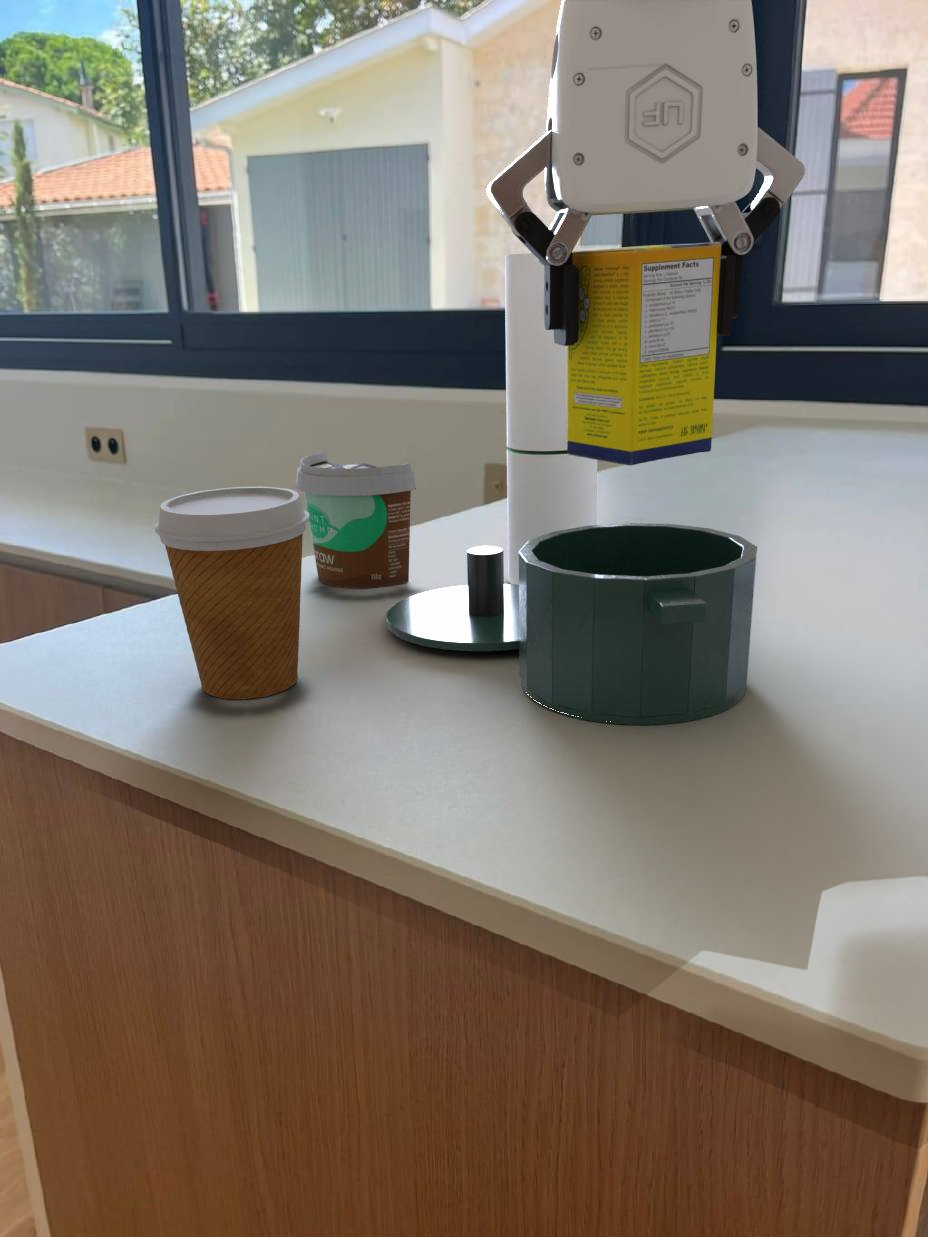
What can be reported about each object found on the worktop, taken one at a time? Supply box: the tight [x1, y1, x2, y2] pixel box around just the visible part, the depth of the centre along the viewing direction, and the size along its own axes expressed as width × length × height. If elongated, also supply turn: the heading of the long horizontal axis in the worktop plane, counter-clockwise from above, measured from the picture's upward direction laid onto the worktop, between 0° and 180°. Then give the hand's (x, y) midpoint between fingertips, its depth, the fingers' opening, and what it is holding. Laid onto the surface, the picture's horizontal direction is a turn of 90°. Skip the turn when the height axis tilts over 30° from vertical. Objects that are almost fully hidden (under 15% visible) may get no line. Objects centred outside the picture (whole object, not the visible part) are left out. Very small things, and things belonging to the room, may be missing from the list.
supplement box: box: [567, 241, 721, 466], centre depth 61 cm, size 6×6×11 cm
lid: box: [385, 545, 519, 652], centre depth 80 cm, size 15×15×6 cm
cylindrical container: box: [504, 248, 602, 585], centre depth 87 cm, size 7×7×25 cm
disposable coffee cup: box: [154, 486, 309, 700], centre depth 70 cm, size 10×10×12 cm
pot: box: [518, 522, 758, 726], centre depth 67 cm, size 14×19×8 cm
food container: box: [295, 451, 417, 589], centre depth 93 cm, size 12×6×10 cm, turn 40°
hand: (640, 337), depth 61 cm, fingers closed on supplement box, 7 cm apart
